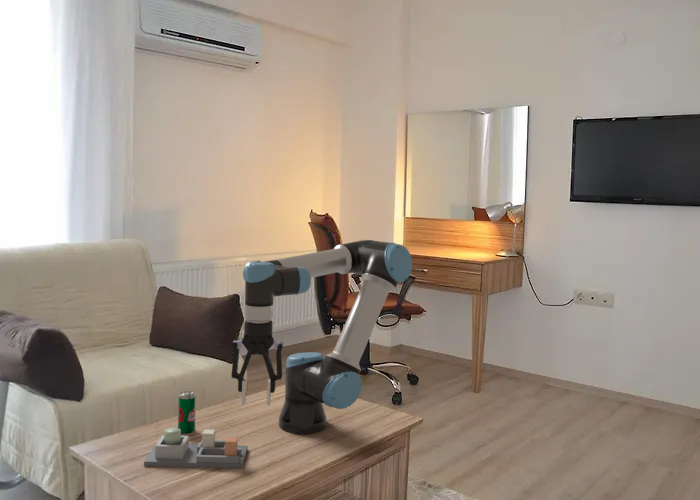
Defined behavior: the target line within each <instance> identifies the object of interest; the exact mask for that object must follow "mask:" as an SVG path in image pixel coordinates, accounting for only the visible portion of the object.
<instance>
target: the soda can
mask: <svg viewBox="0 0 700 500" xmlns="http://www.w3.org/2000/svg"><path fill="white" fill-rule="evenodd" d="M177 401H178V402H177V404H178V406H177V407H178V408H177V428H179V429H180V430H181V435H189V434H192V433H194V432H195V430H196V401H197V399H196V395H195V391H191V390H187V391H186V390H185V391H182V392H179V395H178V399H177Z"/></svg>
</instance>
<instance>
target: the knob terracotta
mask: <svg viewBox="0 0 700 500" xmlns="http://www.w3.org/2000/svg"><path fill="white" fill-rule="evenodd" d="M238 438H239V437H234V436H233V437H228V436H226V438H225V456H237V445H238Z"/></svg>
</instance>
